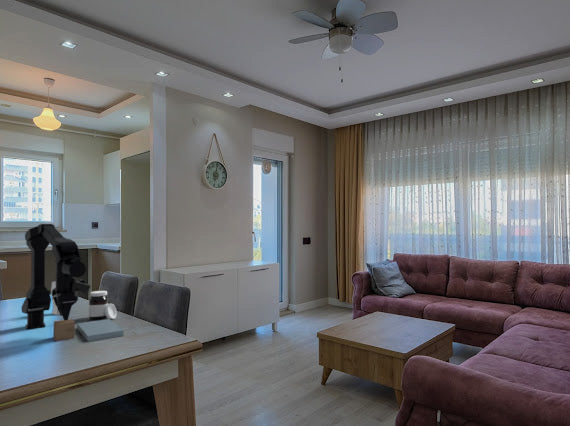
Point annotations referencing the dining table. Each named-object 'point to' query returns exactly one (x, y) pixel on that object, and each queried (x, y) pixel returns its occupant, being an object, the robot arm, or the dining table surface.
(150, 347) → the dining table surface
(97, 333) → the slate board
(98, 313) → the spread jar
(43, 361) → the dining table surface
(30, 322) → the robot arm
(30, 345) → the dining table surface
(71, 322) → the walnut cube
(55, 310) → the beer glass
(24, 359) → the dining table surface
